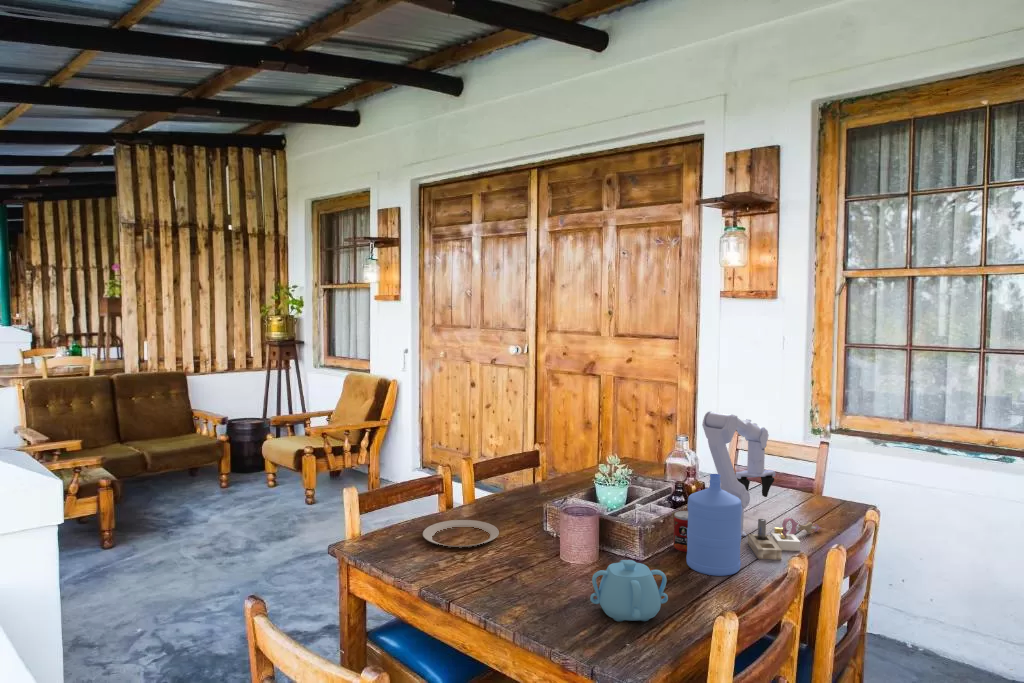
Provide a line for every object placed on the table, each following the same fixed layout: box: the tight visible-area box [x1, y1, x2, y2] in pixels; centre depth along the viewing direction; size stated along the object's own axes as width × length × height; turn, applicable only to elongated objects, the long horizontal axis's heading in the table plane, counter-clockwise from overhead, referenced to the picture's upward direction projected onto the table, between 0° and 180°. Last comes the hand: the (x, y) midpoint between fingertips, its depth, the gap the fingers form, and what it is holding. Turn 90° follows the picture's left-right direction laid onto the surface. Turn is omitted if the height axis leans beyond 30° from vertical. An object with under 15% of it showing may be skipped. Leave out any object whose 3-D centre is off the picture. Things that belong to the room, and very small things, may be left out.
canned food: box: [673, 510, 688, 553], centre depth 224 cm, size 8×8×11 cm
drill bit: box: [757, 518, 767, 540], centre depth 225 cm, size 2×2×9 cm
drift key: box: [773, 526, 786, 540], centre depth 231 cm, size 3×6×3 cm, turn 174°
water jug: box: [686, 473, 742, 577], centre depth 208 cm, size 16×16×28 cm
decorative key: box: [781, 517, 822, 537], centre depth 236 cm, size 7×1×20 cm
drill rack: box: [747, 533, 783, 561], centre depth 222 cm, size 7×14×3 cm, turn 174°
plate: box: [422, 519, 500, 549], centre depth 233 cm, size 26×26×2 cm
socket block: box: [770, 531, 801, 552], centre depth 230 cm, size 7×16×3 cm, turn 174°
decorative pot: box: [589, 559, 669, 622], centre depth 178 cm, size 16×16×14 cm
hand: (755, 496), depth 249 cm, fingers open, 7 cm apart
